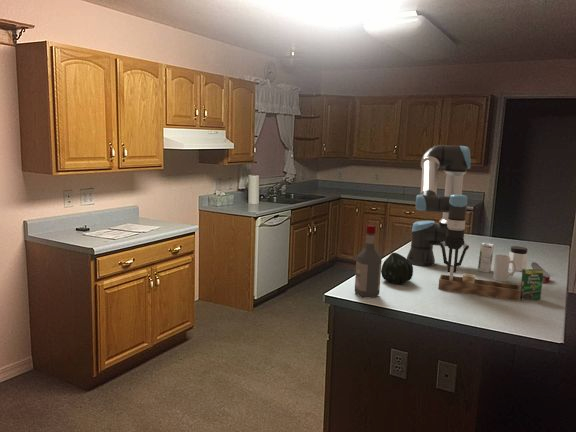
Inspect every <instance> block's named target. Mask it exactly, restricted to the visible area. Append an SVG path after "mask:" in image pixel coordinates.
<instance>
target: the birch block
mask: <svg viewBox="0 0 576 432" xmlns="http://www.w3.org/2000/svg"><path fill="white" fill-rule="evenodd" d="M462 277H463V280H462V282H464V283H472V284H474V281H475V279H476V274H471V273H465V272H464V273H463V274H462Z"/></svg>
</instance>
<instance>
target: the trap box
mask: <svg viewBox="0 0 576 432" xmlns="http://www.w3.org/2000/svg"><path fill="white" fill-rule="evenodd" d="M449 276H450V274H442V273H441V274H440V276H439V279H438V288H437V289H438V290H441V289H444V290H443V291H448V290H450V292H455V291H457V293H462V292H464V293H463V294H469V293H470V295H476V294H477V296H483V297H489V296H491V298H496V297H497V299H504V300H509V301H510V300H511V301H517V302H518V301H519V302H521V298H520V296H521V284H516V283H508V282H507V283H506V282H502V281H495V280H492V281H491V280H485V279H478V278H475V281H474V284H472V283H464V282H462V280H463V276H454V275H453V281H452V280H449Z"/></svg>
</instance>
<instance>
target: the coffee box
mask: <svg viewBox="0 0 576 432" xmlns="http://www.w3.org/2000/svg"><path fill="white" fill-rule="evenodd" d="M521 272H522V273H521V282H520V283H521V284H520V288H521V296H520V299H522V300H541V298H542V287H543V283H542V279H543V270H541V269H533V268H528V269H527V268H526V269H523V270H522V271H521Z"/></svg>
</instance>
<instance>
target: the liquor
mask: <svg viewBox="0 0 576 432" xmlns="http://www.w3.org/2000/svg"><path fill="white" fill-rule="evenodd" d="M365 235H366V238H365V245H364V248H363V249H362V250H361V251H360V252H359V253H358V254H357V255H356V259H355V260H356V263H355V278H354V279H355V280H354V293H355V294H356V295H357V294H358V295H357V296H358V297H360V296H362V297H361V298H364V297H372V298H377V297H378V296H379V295H380V289H381V277H382V274H381V269H382V257H381V255H380V254H379V252H378V251H377V250H376V247H375V237H376V236H375V235H376V225H374V224H373V225H372V224H368V225H366V234H365ZM376 296H377V297H376Z"/></svg>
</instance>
